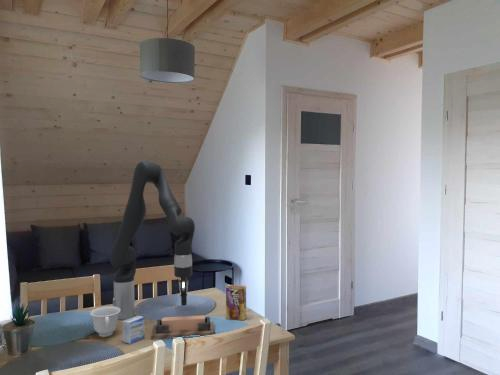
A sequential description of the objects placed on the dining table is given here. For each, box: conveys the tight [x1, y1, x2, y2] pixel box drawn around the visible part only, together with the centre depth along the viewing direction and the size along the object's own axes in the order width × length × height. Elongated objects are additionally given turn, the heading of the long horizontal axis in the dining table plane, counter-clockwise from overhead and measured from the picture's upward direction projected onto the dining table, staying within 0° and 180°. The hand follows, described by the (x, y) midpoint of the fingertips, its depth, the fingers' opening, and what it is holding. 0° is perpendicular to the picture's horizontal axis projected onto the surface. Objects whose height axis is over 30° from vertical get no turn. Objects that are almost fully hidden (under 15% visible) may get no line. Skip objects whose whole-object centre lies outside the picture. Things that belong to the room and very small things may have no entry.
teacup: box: [89, 305, 120, 338], centre depth 171 cm, size 12×15×10 cm
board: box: [150, 316, 216, 340], centre depth 175 cm, size 26×12×4 cm, turn 98°
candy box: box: [225, 284, 247, 321], centre depth 191 cm, size 9×4×15 cm, turn 79°
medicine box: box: [121, 315, 146, 345], centre depth 167 cm, size 8×4×9 cm, turn 148°
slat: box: [161, 314, 206, 331], centre depth 175 cm, size 18×4×4 cm, turn 98°
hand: (184, 305), depth 174 cm, fingers closed
